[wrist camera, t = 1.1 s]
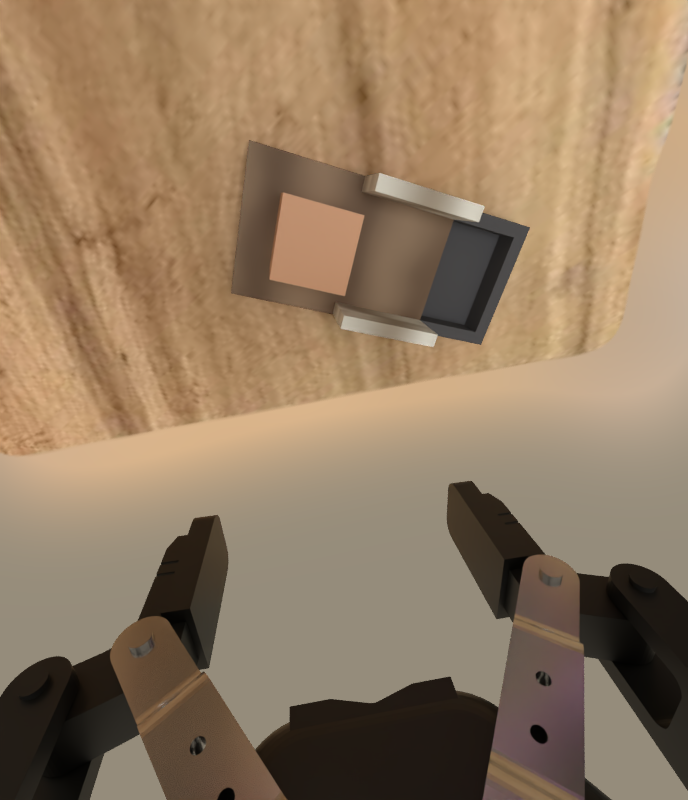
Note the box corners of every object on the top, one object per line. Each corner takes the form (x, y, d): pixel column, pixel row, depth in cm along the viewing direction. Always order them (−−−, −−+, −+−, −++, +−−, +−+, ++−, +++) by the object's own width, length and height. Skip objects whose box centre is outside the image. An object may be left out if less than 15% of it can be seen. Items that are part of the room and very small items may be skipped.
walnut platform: (233, 286, 31) (225, 306, 25) (250, 144, 27) (245, 130, 21) (407, 323, 35) (433, 346, 29) (445, 204, 31) (484, 206, 25)
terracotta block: (269, 267, 28) (269, 279, 24) (281, 193, 26) (283, 192, 22) (333, 281, 30) (344, 296, 25) (349, 212, 28) (364, 215, 23)
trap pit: (407, 323, 35) (416, 331, 33) (445, 204, 31) (458, 205, 29) (468, 335, 37) (480, 344, 34) (512, 225, 32) (529, 227, 30)
